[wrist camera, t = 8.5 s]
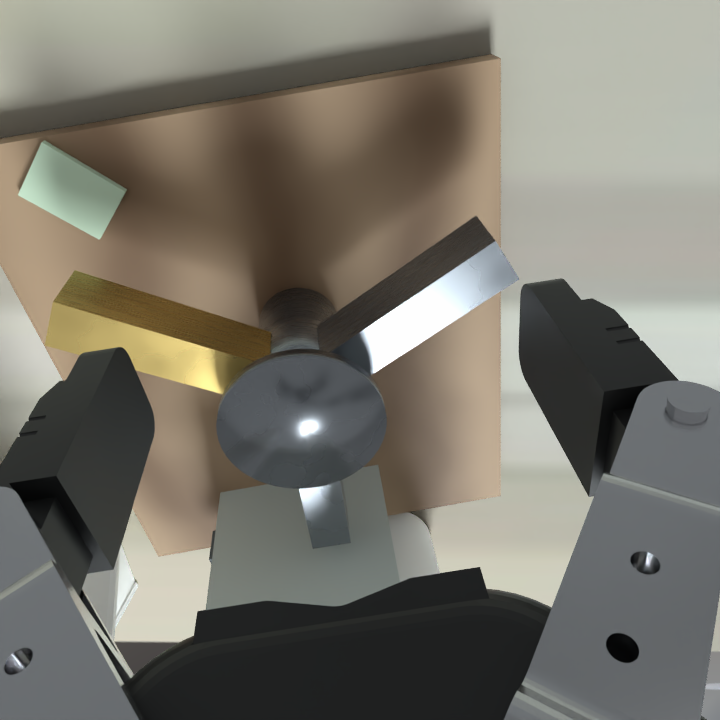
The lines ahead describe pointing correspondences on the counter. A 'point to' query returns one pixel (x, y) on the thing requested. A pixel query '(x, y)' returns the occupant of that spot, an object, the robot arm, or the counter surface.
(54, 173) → the mint green block
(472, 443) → the walnut board
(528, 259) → the counter surface
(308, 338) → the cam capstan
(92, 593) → the skyscraper
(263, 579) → the stand
